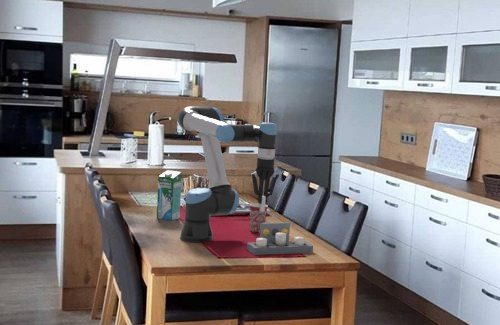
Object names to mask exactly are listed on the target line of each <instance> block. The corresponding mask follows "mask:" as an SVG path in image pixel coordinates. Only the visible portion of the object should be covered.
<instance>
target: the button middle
mask: <svg viewBox="0 0 500 325" xmlns="http://www.w3.org/2000/svg"><path fill="white" fill-rule="evenodd" d="M285 244H286V233H280V232H279V233H276V238H275V245H277V246H285Z"/></svg>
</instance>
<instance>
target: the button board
mask: <svg viewBox="0 0 500 325" xmlns="http://www.w3.org/2000/svg"><path fill="white" fill-rule="evenodd" d="M246 250H247V251H248V252H250V253H251V254H252V255H253V256H259V255H260V256H261V255H282V254H285V255H286V254H288V255H289V254H307V253H309V254H310V253H312V254H313V252H314V245H312V244H311V243H309V242H308V241H306V240H304V245H298V246H295V245H294V240H292V241H290V240H289V241H286V244H285V246H277V245H275V242H267V247H257V246H256V242H247V243H246Z"/></svg>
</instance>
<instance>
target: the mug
mask: <svg viewBox="0 0 500 325" xmlns="http://www.w3.org/2000/svg"><path fill="white" fill-rule="evenodd" d="M249 204H250V215H249V231H250V232H251V231H252V232H251V233H254V232H260V226H261V223H267V221H266V220H267V213H268V212H267V209H268V207H269V206H268V204H265V212H261V211H260V210H259V209H260V204H259V203H258V202H257V203H249Z"/></svg>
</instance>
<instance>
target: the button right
mask: <svg viewBox="0 0 500 325" xmlns="http://www.w3.org/2000/svg"><path fill="white" fill-rule="evenodd" d="M293 241H294V245H295V246H298V245H304V241H305V237H302V236H294V237H293Z"/></svg>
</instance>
